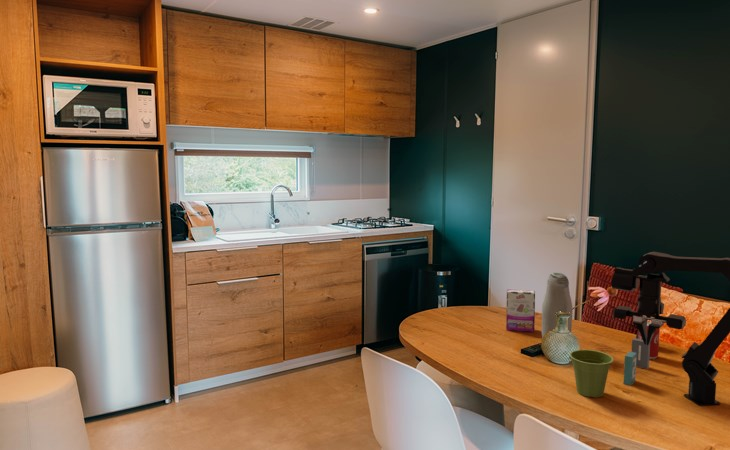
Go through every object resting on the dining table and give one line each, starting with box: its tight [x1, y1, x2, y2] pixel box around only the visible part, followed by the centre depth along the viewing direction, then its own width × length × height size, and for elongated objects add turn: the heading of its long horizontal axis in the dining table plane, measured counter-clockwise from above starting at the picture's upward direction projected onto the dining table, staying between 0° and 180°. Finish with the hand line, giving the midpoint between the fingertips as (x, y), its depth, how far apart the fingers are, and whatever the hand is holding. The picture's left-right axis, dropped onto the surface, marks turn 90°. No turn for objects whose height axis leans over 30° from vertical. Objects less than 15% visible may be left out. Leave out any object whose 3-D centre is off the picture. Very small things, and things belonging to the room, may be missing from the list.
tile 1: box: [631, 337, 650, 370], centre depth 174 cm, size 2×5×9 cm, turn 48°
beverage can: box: [639, 321, 661, 360], centre depth 182 cm, size 6×6×12 cm
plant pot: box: [569, 349, 614, 398], centre depth 153 cm, size 12×12×11 cm
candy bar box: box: [505, 288, 536, 333], centre depth 213 cm, size 11×5×16 cm, turn 73°
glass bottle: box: [541, 272, 573, 339], centre depth 191 cm, size 10×10×28 cm
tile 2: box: [623, 351, 637, 387], centre depth 161 cm, size 2×5×9 cm, turn 138°
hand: (646, 344), depth 157 cm, fingers closed
